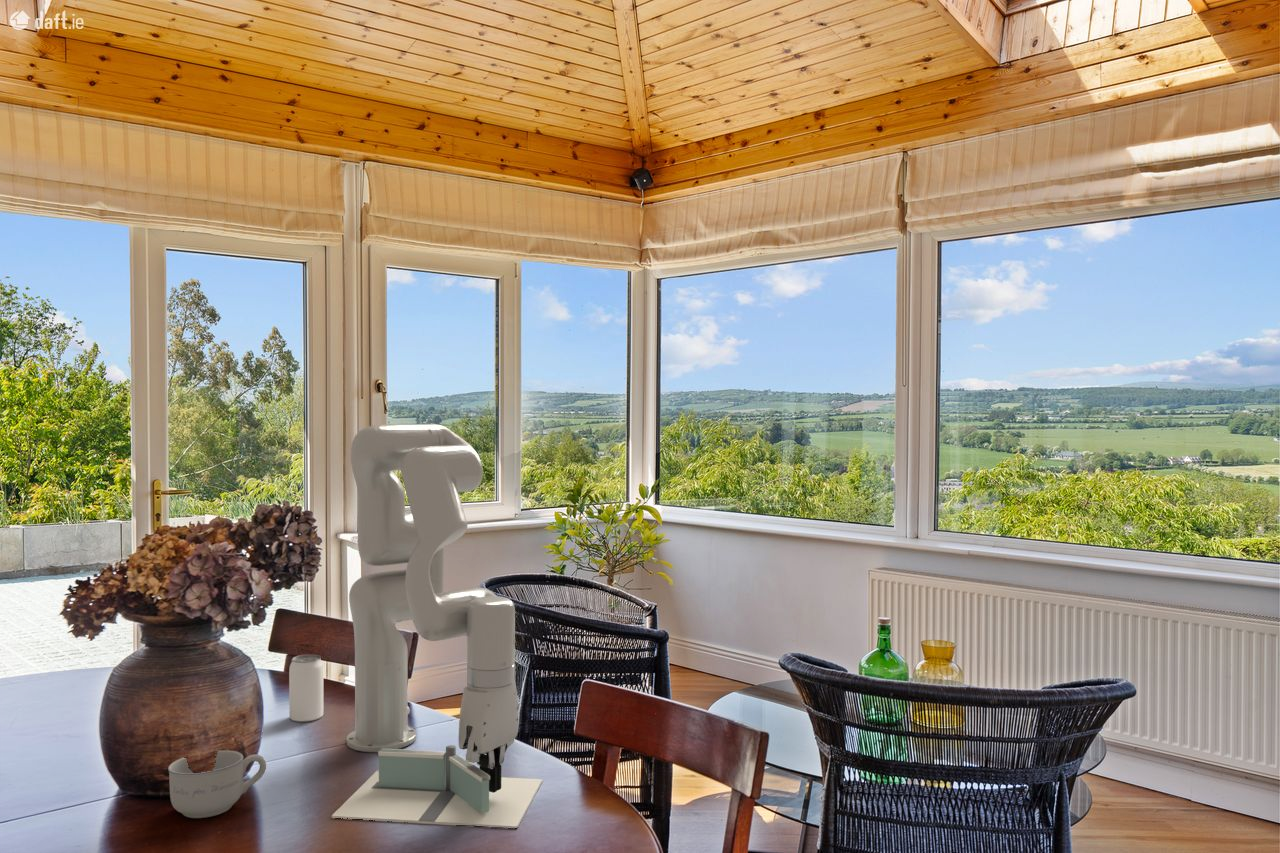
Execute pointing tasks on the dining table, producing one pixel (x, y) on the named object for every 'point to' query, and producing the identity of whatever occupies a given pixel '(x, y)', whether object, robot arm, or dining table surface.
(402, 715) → the robot arm
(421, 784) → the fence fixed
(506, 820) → the card
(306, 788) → the dining table surface
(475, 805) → the pale open channel
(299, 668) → the can
